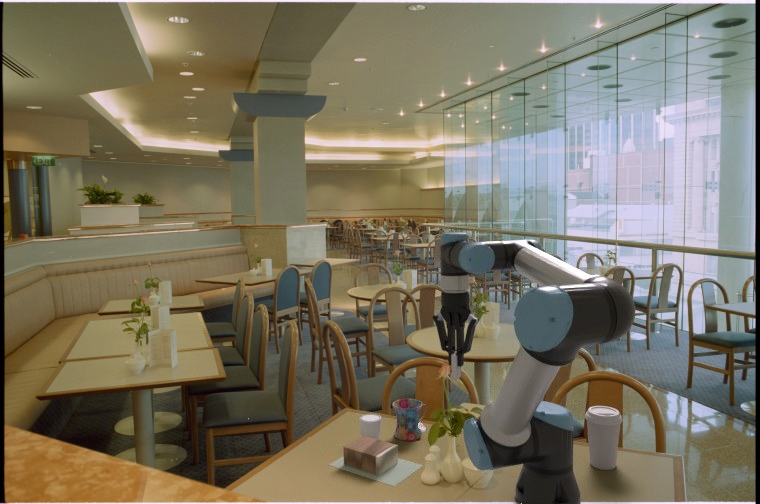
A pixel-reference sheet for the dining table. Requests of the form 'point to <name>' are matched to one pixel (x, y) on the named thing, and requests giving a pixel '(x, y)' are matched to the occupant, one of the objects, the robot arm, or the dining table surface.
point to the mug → (408, 418)
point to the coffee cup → (603, 436)
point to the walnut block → (371, 455)
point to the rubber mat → (389, 476)
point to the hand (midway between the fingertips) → (456, 377)
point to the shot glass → (370, 425)
